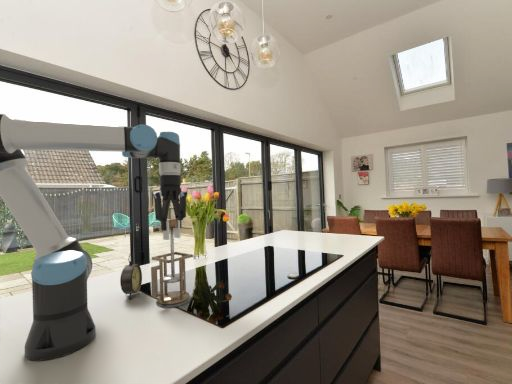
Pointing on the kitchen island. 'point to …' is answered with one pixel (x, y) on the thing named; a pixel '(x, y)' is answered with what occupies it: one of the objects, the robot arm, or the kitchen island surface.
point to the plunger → (172, 255)
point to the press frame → (171, 297)
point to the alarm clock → (131, 278)
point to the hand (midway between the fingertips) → (171, 238)
